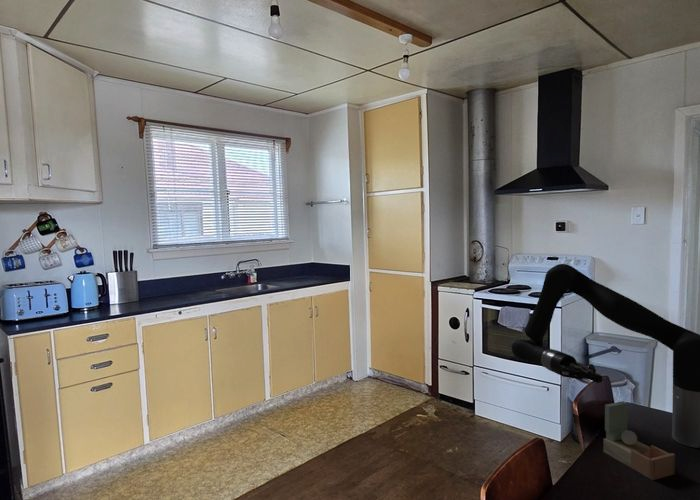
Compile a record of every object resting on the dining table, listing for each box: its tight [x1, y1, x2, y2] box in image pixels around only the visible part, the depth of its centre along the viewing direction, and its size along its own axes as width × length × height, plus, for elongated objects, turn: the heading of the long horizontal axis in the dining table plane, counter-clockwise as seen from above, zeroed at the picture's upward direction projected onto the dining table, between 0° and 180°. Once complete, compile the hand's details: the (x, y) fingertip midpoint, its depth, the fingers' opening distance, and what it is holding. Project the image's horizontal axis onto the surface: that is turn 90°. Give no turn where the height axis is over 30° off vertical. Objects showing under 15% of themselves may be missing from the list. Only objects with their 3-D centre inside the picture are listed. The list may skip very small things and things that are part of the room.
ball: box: [621, 429, 638, 445], centre depth 126 cm, size 4×4×4 cm
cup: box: [630, 445, 676, 481], centre depth 119 cm, size 8×6×6 cm
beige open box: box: [602, 437, 651, 468], centre depth 126 cm, size 8×9×4 cm
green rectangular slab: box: [604, 400, 629, 441], centre depth 129 cm, size 7×2×10 cm, turn 107°
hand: (600, 379), depth 134 cm, fingers closed
